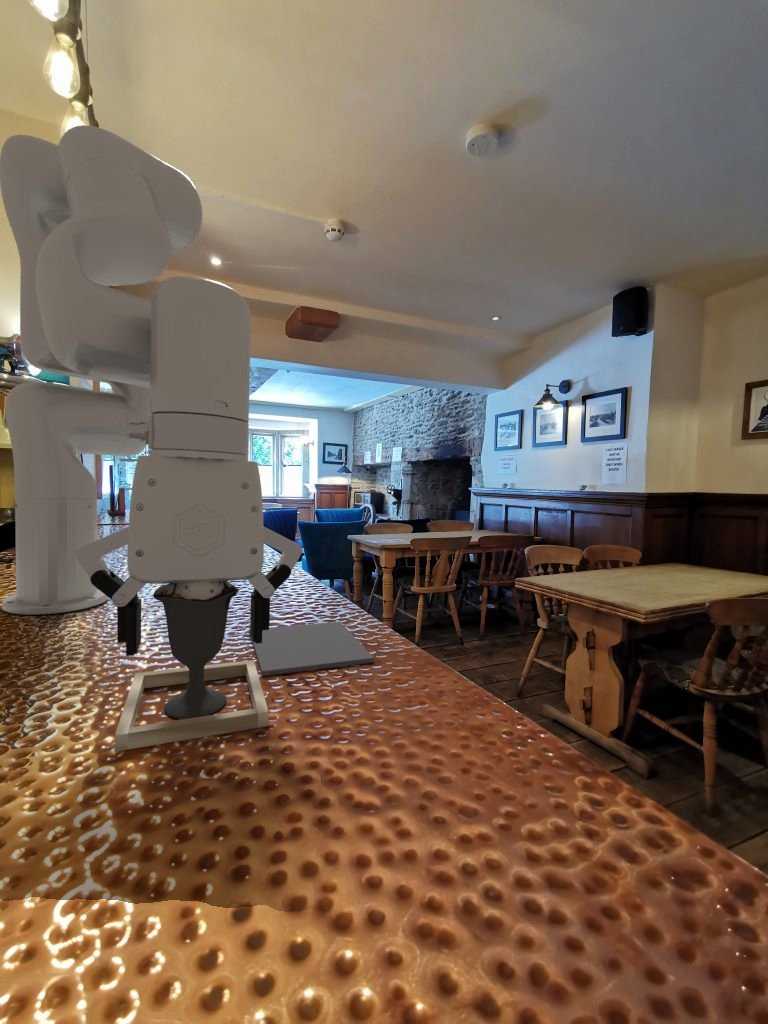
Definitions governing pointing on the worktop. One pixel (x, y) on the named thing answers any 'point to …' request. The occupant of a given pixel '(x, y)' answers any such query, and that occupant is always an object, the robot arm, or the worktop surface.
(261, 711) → the frame
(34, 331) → the robot arm
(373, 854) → the worktop surface
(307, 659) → the bar mat
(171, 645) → the sundae
